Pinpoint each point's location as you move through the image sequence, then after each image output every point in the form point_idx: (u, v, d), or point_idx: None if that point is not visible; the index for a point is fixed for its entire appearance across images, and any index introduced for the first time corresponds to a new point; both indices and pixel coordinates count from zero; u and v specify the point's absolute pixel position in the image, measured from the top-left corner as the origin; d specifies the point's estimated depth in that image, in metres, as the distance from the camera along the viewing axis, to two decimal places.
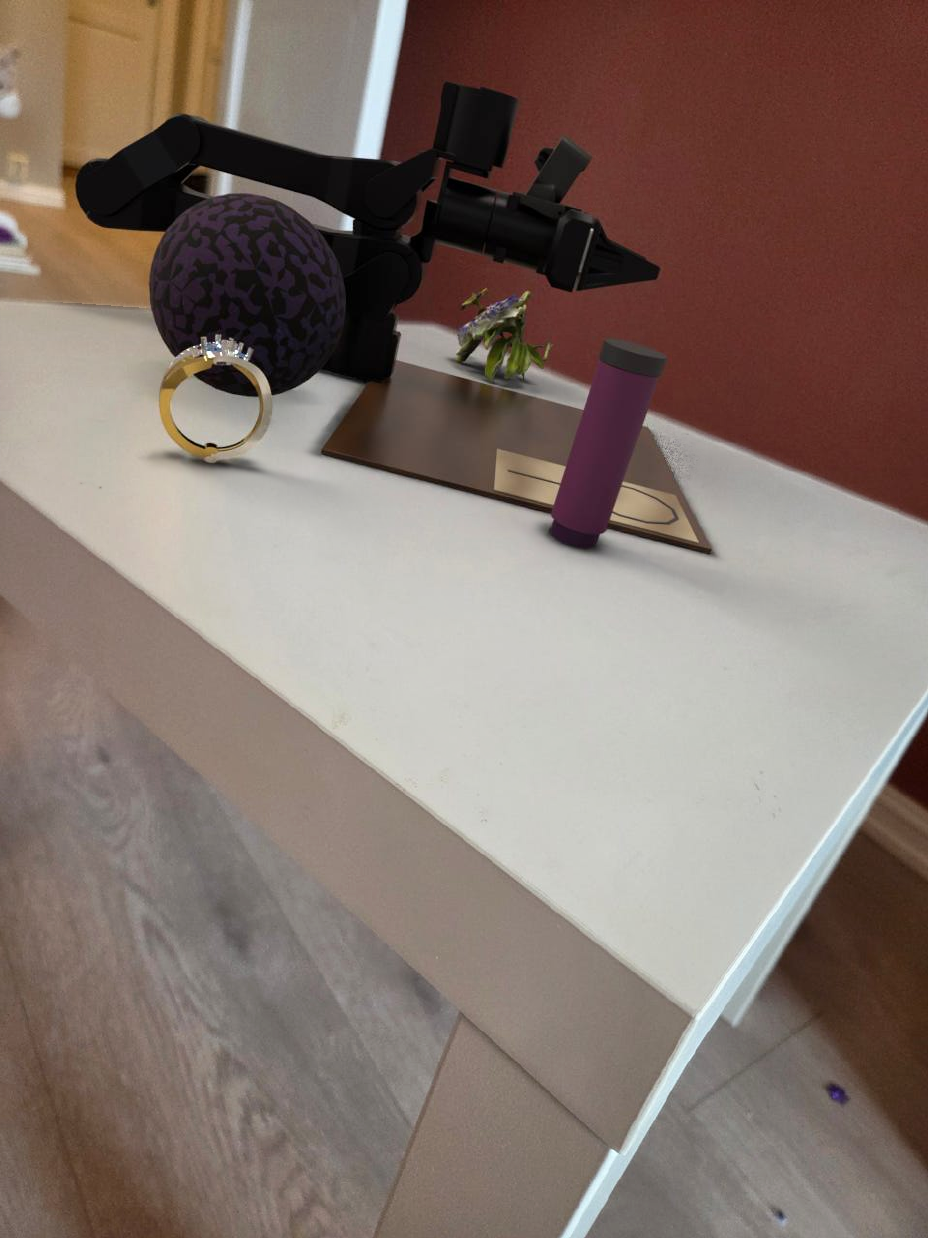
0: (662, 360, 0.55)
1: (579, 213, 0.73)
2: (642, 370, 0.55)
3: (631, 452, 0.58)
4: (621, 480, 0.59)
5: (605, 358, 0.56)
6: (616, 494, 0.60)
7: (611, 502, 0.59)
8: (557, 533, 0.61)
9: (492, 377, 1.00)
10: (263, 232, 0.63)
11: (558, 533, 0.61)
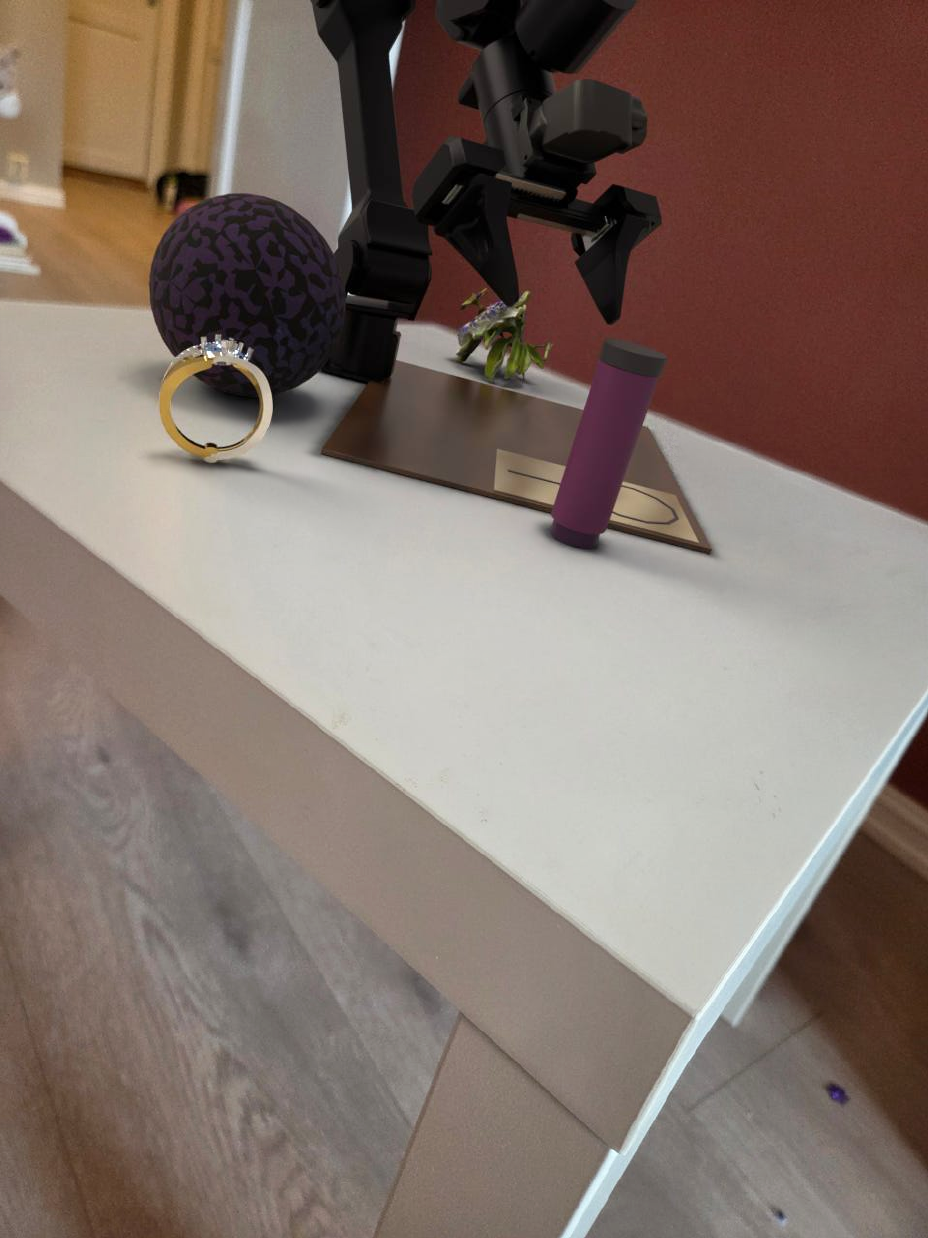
0: (662, 360, 0.55)
1: (460, 146, 0.56)
2: (642, 370, 0.55)
3: (631, 452, 0.58)
4: (621, 480, 0.59)
5: (605, 358, 0.56)
6: (616, 494, 0.60)
7: (611, 502, 0.59)
8: (557, 533, 0.61)
9: (492, 377, 1.00)
10: (263, 232, 0.63)
11: (558, 533, 0.61)
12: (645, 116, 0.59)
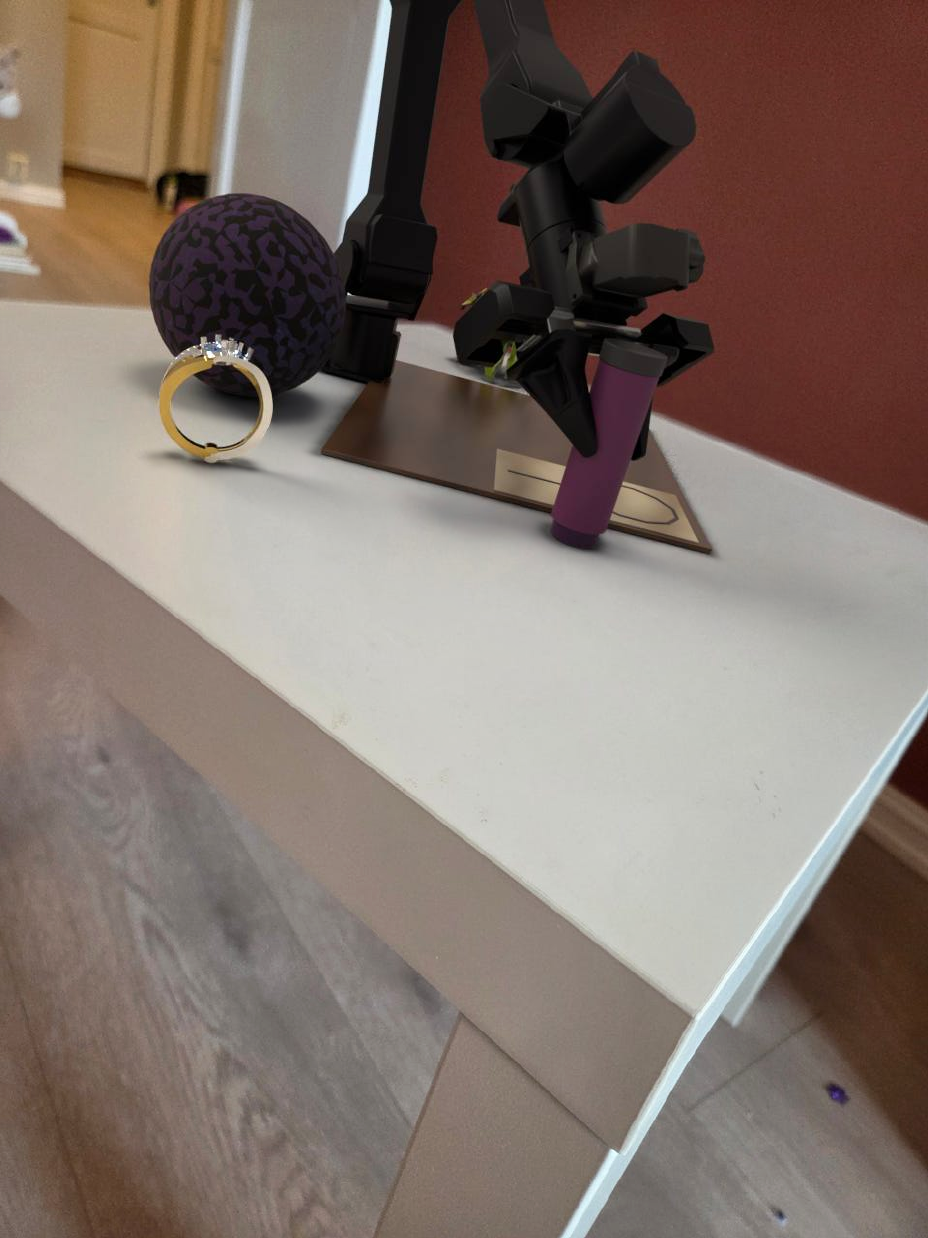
0: (663, 361, 0.55)
1: (508, 295, 0.52)
2: (642, 370, 0.55)
3: (631, 452, 0.58)
4: (621, 480, 0.59)
5: (605, 358, 0.56)
6: (616, 494, 0.60)
7: (611, 502, 0.59)
8: (557, 533, 0.61)
9: (492, 377, 1.00)
10: (263, 232, 0.63)
11: (558, 533, 0.61)
12: (703, 255, 0.55)
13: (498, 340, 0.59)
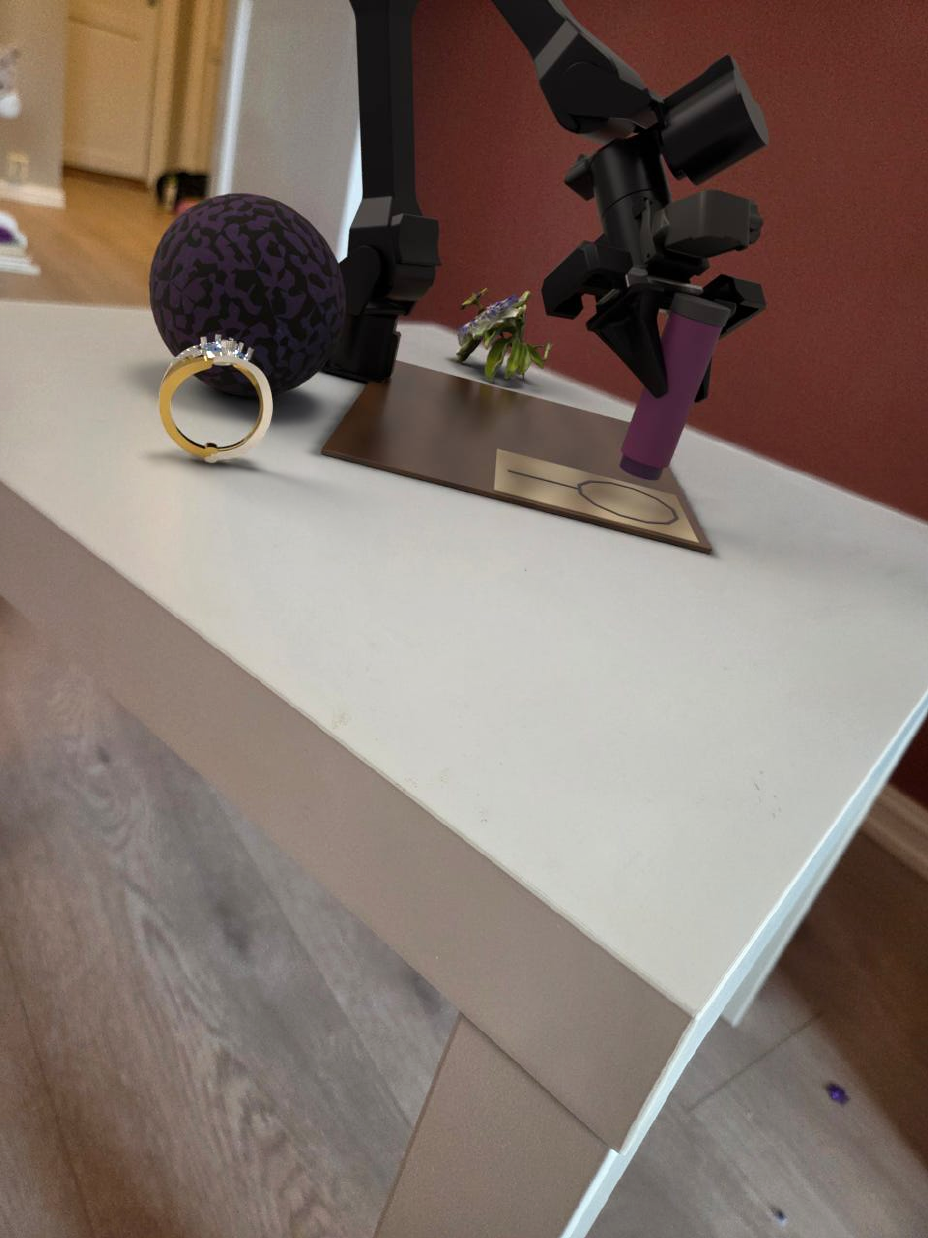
0: (727, 312, 0.63)
1: (595, 252, 0.61)
2: (709, 320, 0.63)
3: (695, 394, 0.66)
4: (685, 419, 0.67)
5: (676, 309, 0.64)
6: (680, 432, 0.68)
7: (676, 438, 0.68)
8: (626, 466, 0.69)
9: (492, 377, 1.00)
10: (263, 232, 0.63)
11: (627, 466, 0.69)
12: (761, 219, 0.63)
13: (578, 296, 0.67)
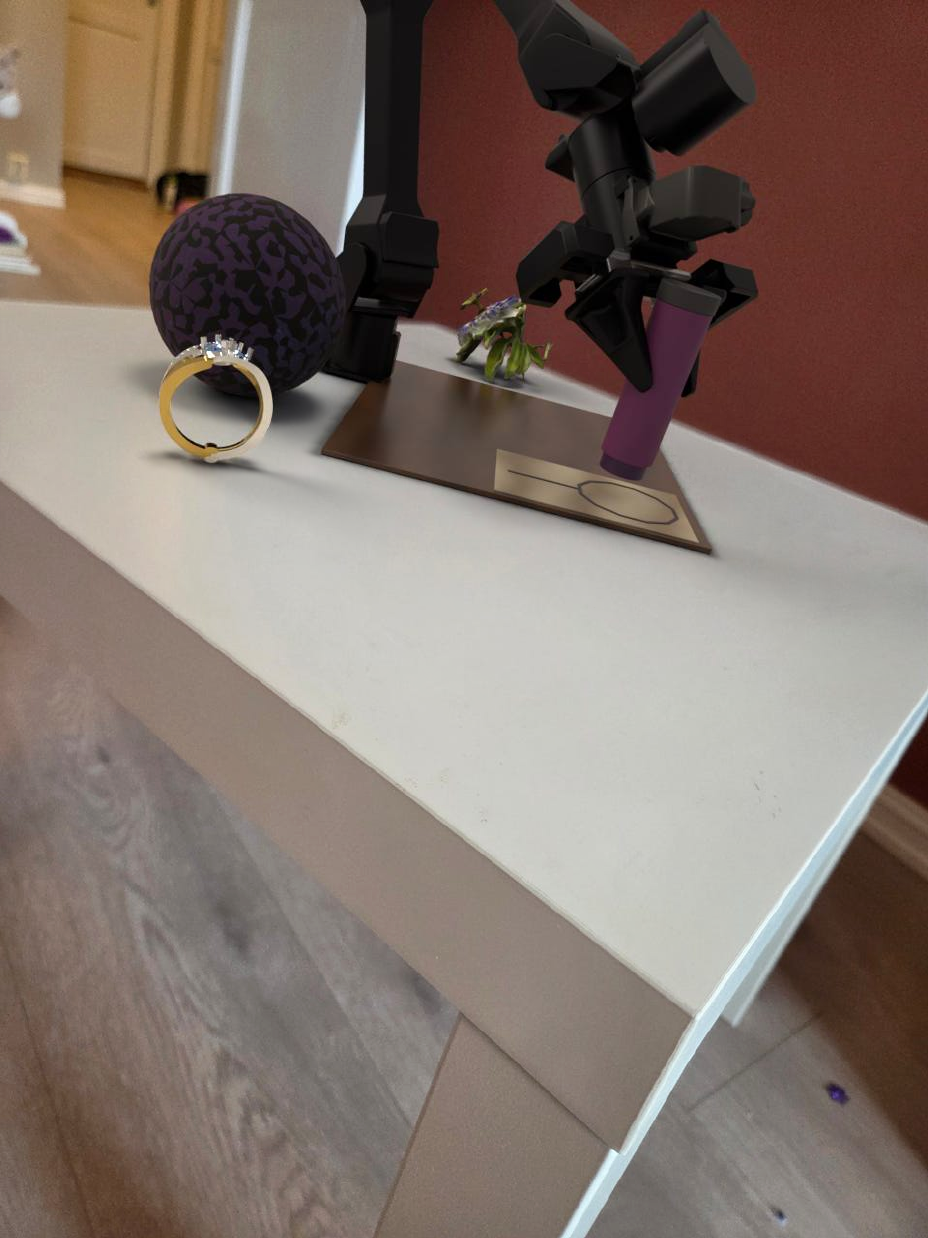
0: (718, 300, 0.58)
1: (573, 233, 0.56)
2: (698, 308, 0.58)
3: (682, 388, 0.62)
4: (671, 415, 0.62)
5: (663, 296, 0.59)
6: (665, 429, 0.63)
7: (660, 436, 0.63)
8: (606, 465, 0.64)
9: (492, 377, 1.00)
10: (263, 232, 0.63)
11: (608, 465, 0.64)
12: (754, 199, 0.58)
13: (556, 282, 0.62)
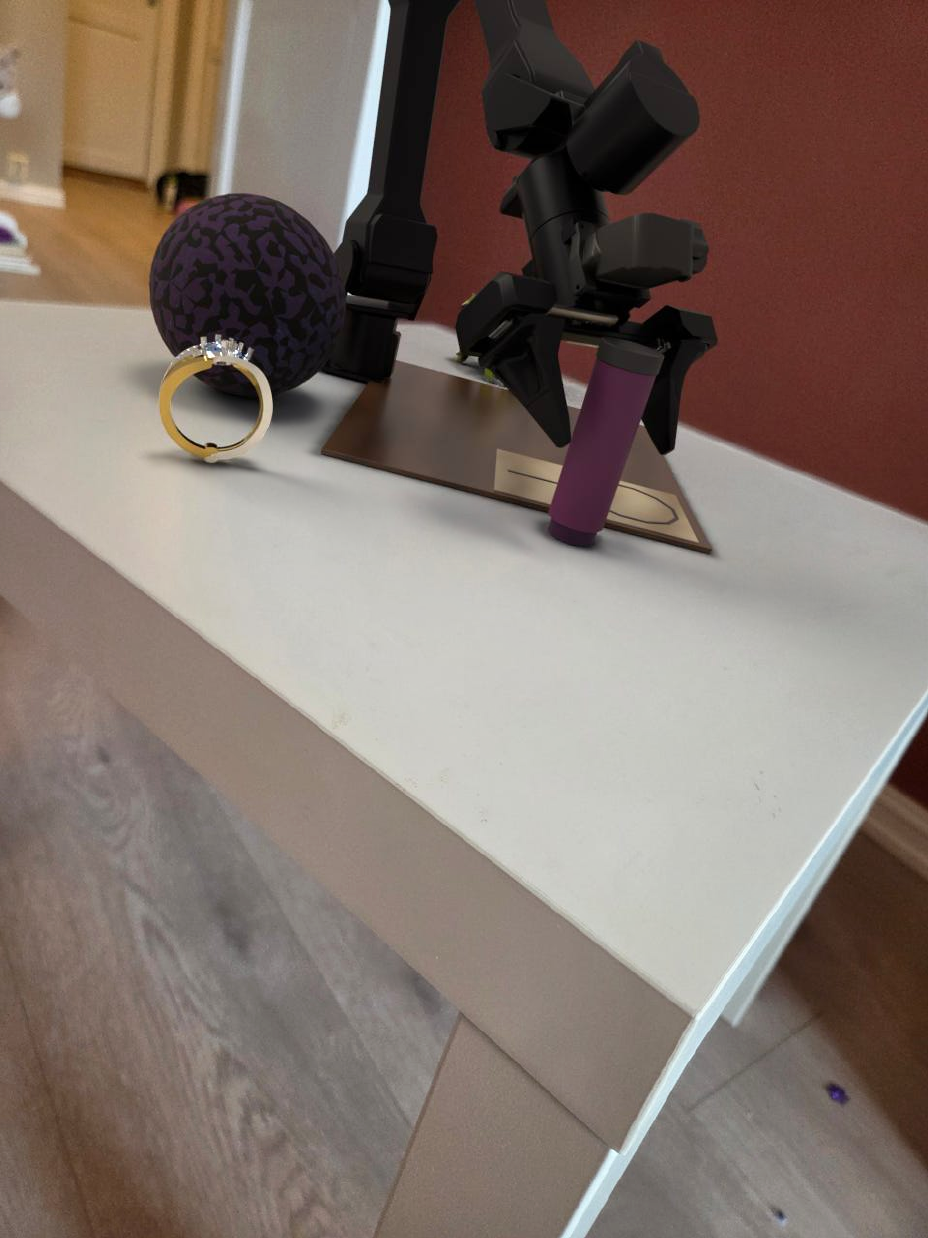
0: (659, 359, 0.55)
1: (511, 285, 0.52)
2: (639, 369, 0.55)
3: (628, 450, 0.58)
4: (618, 478, 0.59)
5: (602, 357, 0.56)
6: (613, 492, 0.60)
7: (608, 500, 0.60)
8: (554, 531, 0.61)
9: (492, 377, 1.00)
10: (263, 232, 0.63)
11: (555, 531, 0.61)
12: (707, 246, 0.55)
13: None
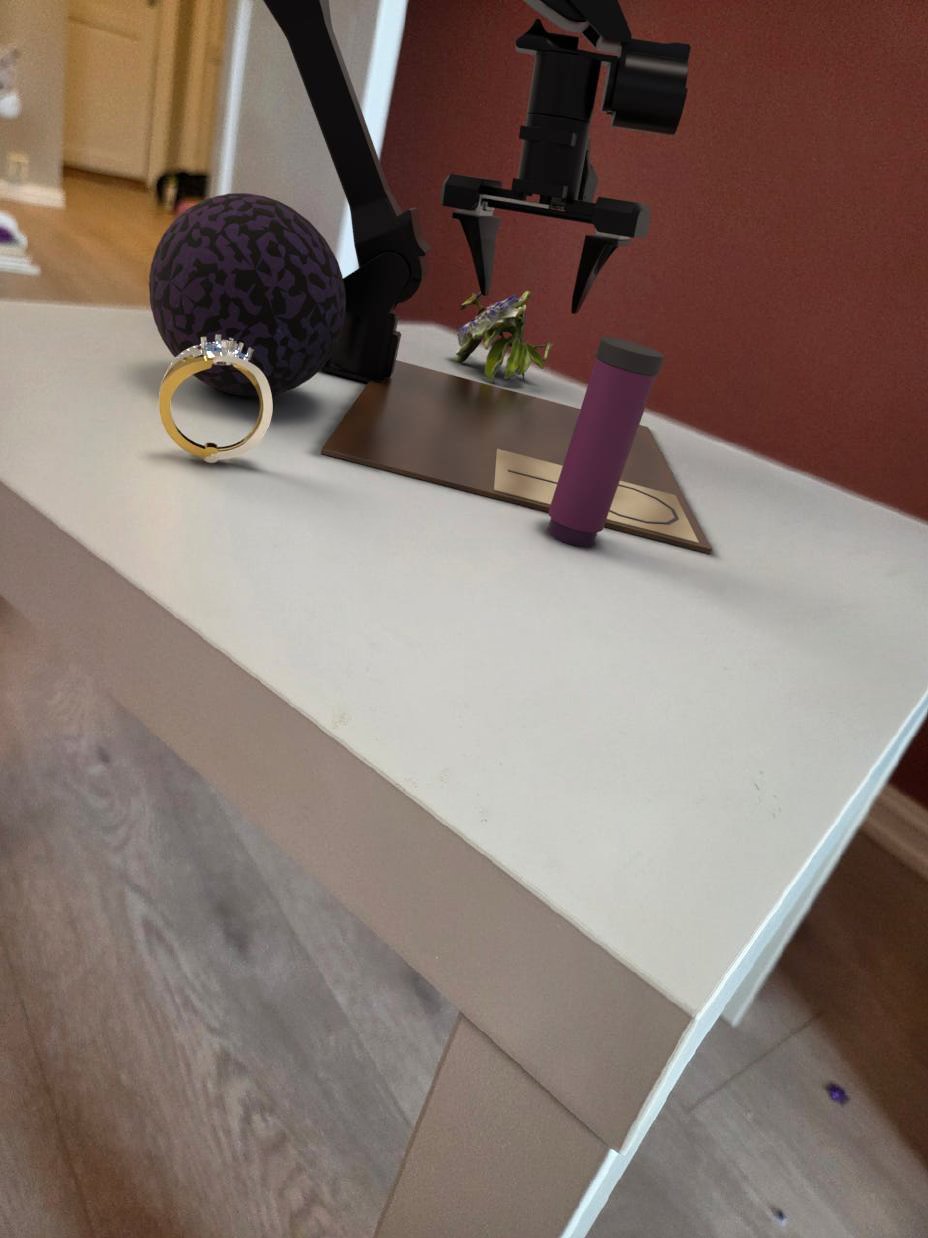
0: (659, 359, 0.55)
1: None
2: (639, 369, 0.55)
3: (628, 450, 0.58)
4: (618, 478, 0.59)
5: (602, 357, 0.56)
6: (613, 492, 0.60)
7: (608, 500, 0.60)
8: (554, 531, 0.61)
9: (492, 377, 1.00)
10: (263, 232, 0.63)
11: (555, 531, 0.61)
12: None
13: None
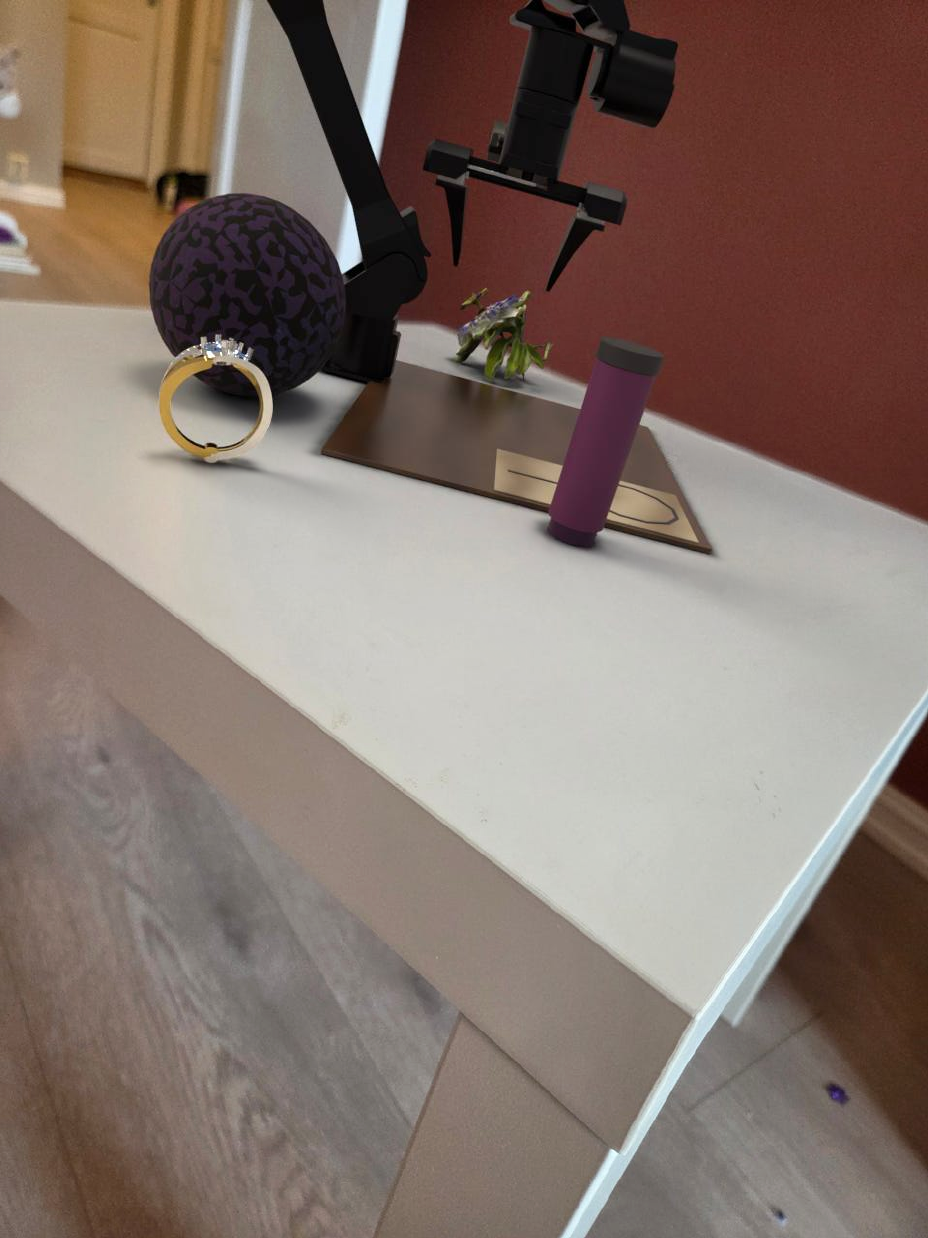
0: (659, 359, 0.55)
1: None
2: (639, 369, 0.55)
3: (628, 450, 0.58)
4: (618, 478, 0.59)
5: (602, 357, 0.56)
6: (613, 492, 0.60)
7: (608, 500, 0.60)
8: (554, 531, 0.61)
9: (492, 377, 1.00)
10: (263, 232, 0.63)
11: (555, 531, 0.61)
12: None
13: None
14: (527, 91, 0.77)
